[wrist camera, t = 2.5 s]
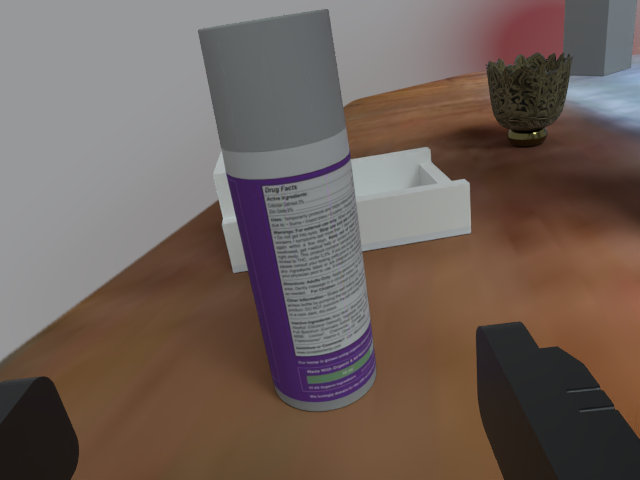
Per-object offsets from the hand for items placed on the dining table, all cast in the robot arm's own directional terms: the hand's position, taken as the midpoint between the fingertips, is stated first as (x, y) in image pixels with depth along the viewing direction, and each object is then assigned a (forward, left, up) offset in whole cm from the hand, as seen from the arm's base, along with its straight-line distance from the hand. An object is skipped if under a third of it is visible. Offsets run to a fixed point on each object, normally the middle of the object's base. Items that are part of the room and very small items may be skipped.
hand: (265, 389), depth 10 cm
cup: (-24, -41, -9) cm, 49 cm away
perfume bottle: (-49, -72, -9) cm, 88 cm away
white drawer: (-4, -28, -9) cm, 30 cm away
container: (-1, -11, -9) cm, 14 cm away
